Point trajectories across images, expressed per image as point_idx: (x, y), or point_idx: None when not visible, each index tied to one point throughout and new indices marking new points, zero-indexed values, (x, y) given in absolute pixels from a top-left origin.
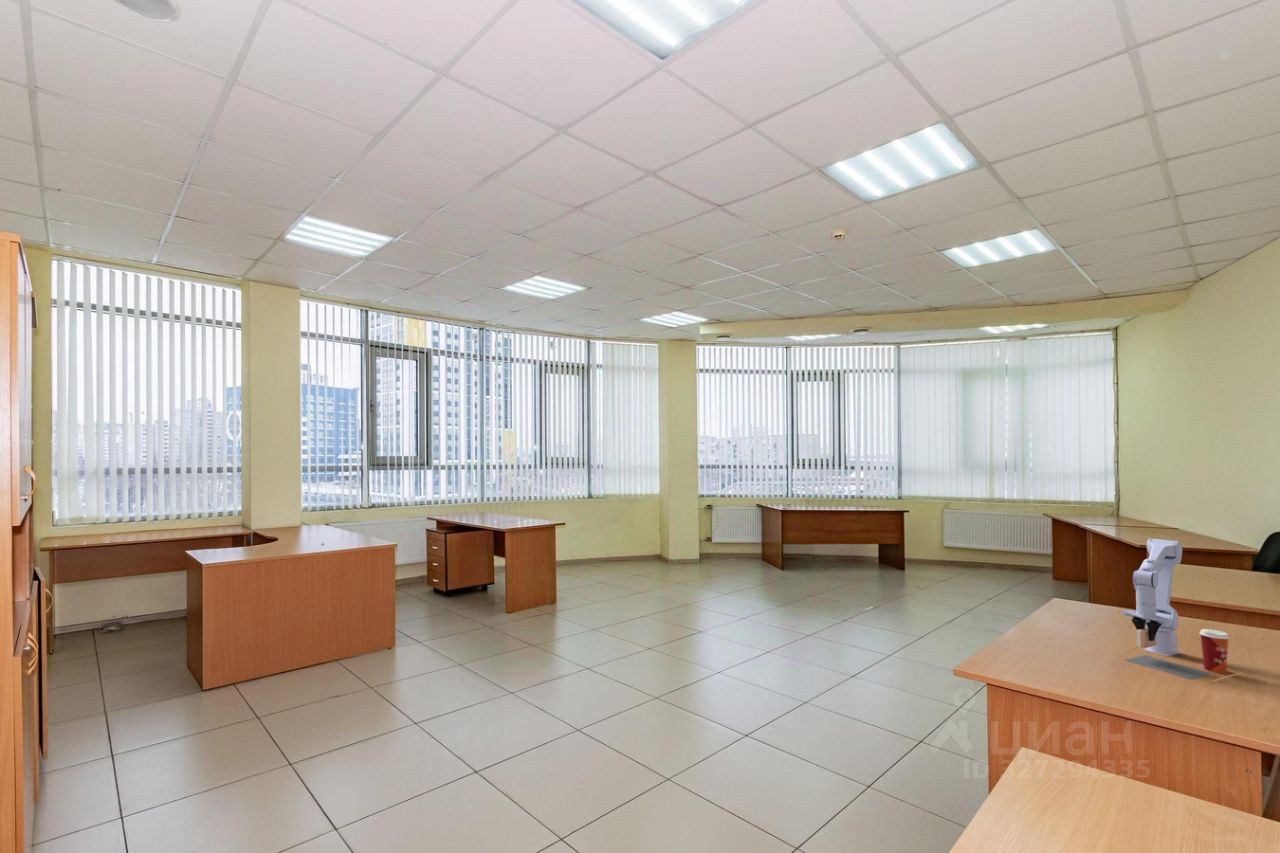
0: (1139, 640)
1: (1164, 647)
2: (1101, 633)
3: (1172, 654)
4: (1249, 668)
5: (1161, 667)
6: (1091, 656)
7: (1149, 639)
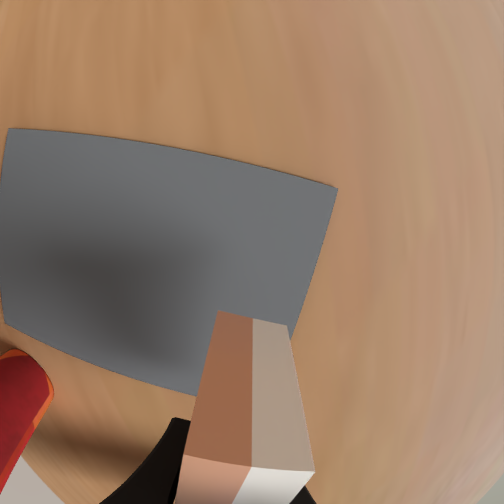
0: (264, 359)
1: None
2: (408, 496)
3: None
4: (35, 453)
5: (128, 222)
6: (472, 141)
7: (185, 429)
